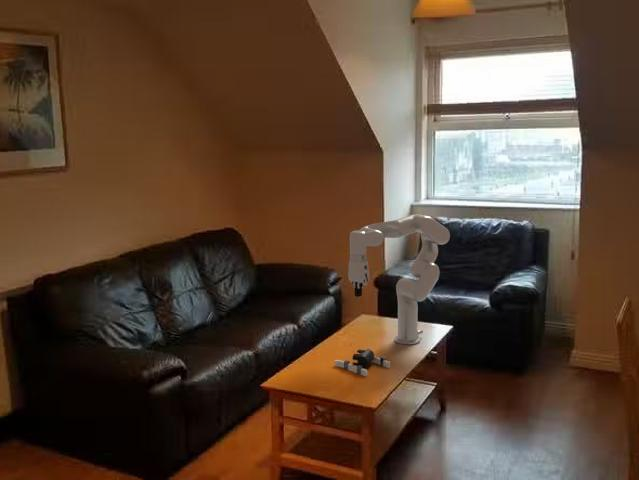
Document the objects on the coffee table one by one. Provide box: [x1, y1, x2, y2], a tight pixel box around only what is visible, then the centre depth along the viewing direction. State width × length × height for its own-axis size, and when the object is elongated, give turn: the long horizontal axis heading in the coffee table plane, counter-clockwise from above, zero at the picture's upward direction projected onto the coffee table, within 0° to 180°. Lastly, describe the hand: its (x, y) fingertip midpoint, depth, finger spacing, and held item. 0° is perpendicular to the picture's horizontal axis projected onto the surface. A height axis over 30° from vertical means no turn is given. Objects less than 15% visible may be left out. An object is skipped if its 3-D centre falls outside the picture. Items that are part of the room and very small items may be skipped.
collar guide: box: [334, 355, 391, 377], centre depth 298 cm, size 18×19×4 cm
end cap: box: [352, 348, 375, 369], centre depth 298 cm, size 10×7×7 cm
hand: (358, 296), depth 312 cm, fingers closed
